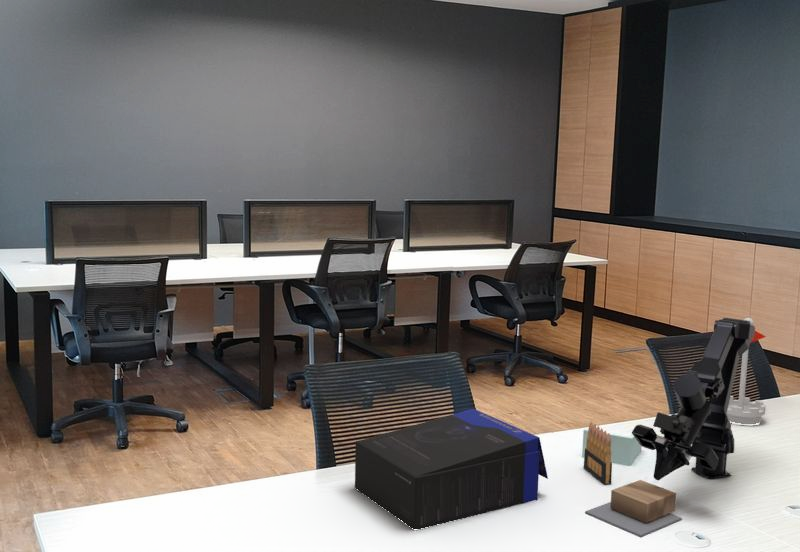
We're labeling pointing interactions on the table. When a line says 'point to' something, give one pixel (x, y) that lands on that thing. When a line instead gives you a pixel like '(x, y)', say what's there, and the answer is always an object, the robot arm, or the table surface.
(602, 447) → the ammunition clip
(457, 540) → the table surface
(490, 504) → the headphone box
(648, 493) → the tan wooden block
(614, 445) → the l-shaped corner panel
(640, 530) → the mat
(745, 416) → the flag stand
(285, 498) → the table surface
